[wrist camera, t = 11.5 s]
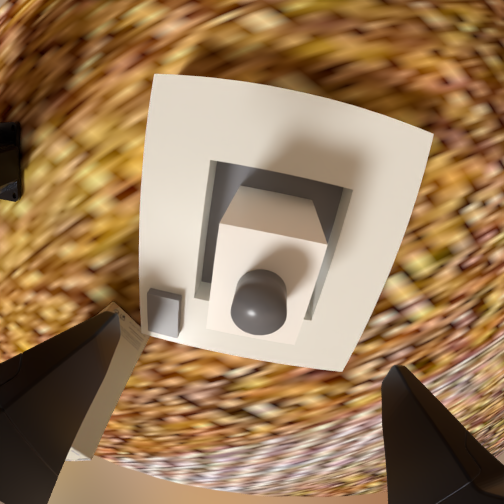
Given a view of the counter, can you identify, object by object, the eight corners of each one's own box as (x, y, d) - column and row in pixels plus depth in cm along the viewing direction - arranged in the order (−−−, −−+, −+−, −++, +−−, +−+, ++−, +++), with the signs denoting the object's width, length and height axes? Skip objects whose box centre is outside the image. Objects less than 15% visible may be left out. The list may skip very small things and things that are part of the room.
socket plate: (155, 308, 22) (138, 338, 19) (174, 79, 15) (149, 72, 12) (336, 343, 22) (343, 378, 19) (410, 129, 15) (439, 135, 12)
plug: (227, 265, 18) (198, 351, 12) (240, 185, 16) (210, 239, 10) (291, 277, 18) (295, 369, 12) (312, 200, 16) (333, 263, 10)
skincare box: (114, 298, 22) (32, 416, 11) (153, 336, 23) (94, 461, 12) (81, 328, 24) (13, 426, 13) (115, 360, 25) (61, 462, 14)
